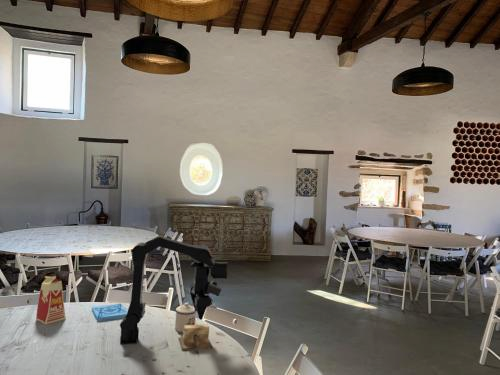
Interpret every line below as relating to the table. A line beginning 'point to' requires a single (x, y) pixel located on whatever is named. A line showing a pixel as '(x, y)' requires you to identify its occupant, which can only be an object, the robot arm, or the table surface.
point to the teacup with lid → (184, 316)
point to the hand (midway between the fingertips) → (198, 314)
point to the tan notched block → (195, 333)
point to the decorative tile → (109, 312)
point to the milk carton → (51, 301)
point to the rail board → (194, 344)
